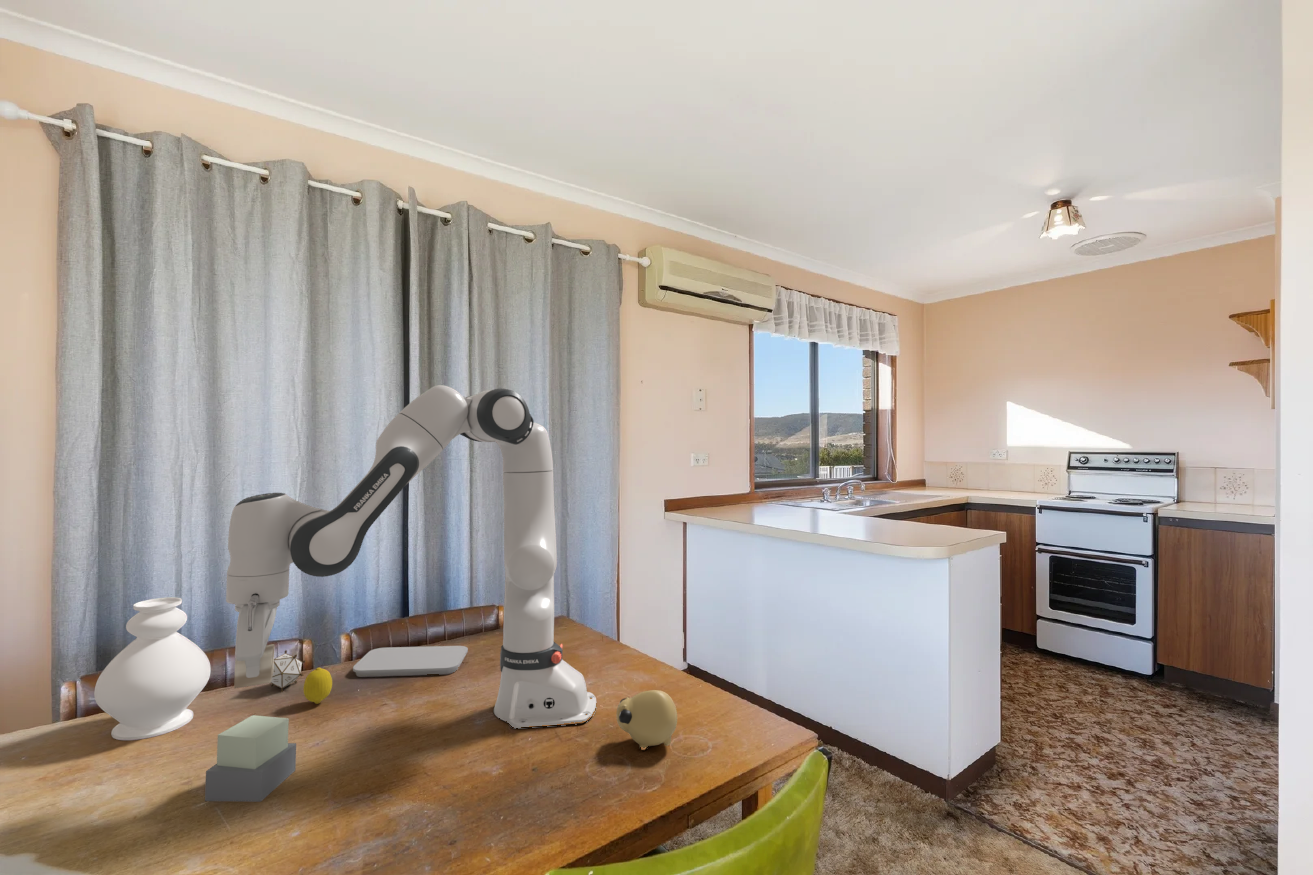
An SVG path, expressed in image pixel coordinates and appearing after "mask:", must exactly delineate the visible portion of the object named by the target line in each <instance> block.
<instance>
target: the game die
mask: <svg viewBox="0 0 1313 875" xmlns="http://www.w3.org/2000/svg"><path fill="white" fill-rule="evenodd" d="M297 657H298V654H294V655H291V654H289V653H288V650H287V649H285V650H284V653H283V654H281V655H278V656H277V657H274V671H273V676H272V680H271V683H270V684H271V685H270V687H271V688H272V687H274V686H275V687H278V688H280V692H281V693H283V692H284V688H286V687H288V686H289V685H291V684H293V683H294V684H298V680H297V679H299V677H303V676H304V673H302V666H303V663H306V661H307V660H305V659H303V660H300V659H298V658H297Z"/></svg>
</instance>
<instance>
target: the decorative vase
mask: <svg viewBox="0 0 1313 875" xmlns="http://www.w3.org/2000/svg"><path fill="white" fill-rule="evenodd" d="M182 602H183V599H182V598H181V597H177V596H176V597H175V596H174V597H173V596H172V597H170V596H169V597H159V598H158V597H157V598H150V599H147V600H142V601H138V602H135V603H134V604H133V606H132V607H133V608H132V609H133V610H134V611H136V612H137V613H136V614H134V615H133V616H132V617H130V618H129V620H128V621H127V622H126V624H125V629H126V631H127V632H128V633H129V634H130V635H132V636H134V637H136V638H135V639H134V640H132V641H131V642H130V643H129V644H128V645H126V646H125V647H124V648H123V649H122V650H121V651H120V652H118V653H117V655H116V656H114V658H112V659H111V661H110V662H109V663H108V664H107V665H106V667H105V668H104V669H103V670H102V672H101V673H100V675H98V676H99V677H98V678H97V681H96V684H95V687H94V694H93V695H94V696H93V697H94V700H95V702H96V705H97V706H98V707H99V708H100V709H101V710H102V711H104V713H106V714H107V715H109V716H110V717H112V718H113V719H115V720H116V721H117V722H119V723H118V724H117V725H115V726H114V727H113V728H112V729H111V738H113V739H114V740H115V739H116V740H119V741H137V740H145V739H149V738H154V737H158V736H161V735H165V734H167V733H170V732H173V731H175V730H176V731H177V729H180V728H182V727H184V726H185V725H187V724H188V723H190V722H191V721H192V720H193V718H194V711H193V710H192V709H189V708H188V706H190V704H191V703H192V702H193V701H194V700H195V699H196V698H197V697H198V695H199V694H200V693H201V692H202V690H203V689H204V688H205V686H206V685H207V684H208V681H209V679H210V677H211V670H212V669H211V663H210V660H209V657H208V656H207V654H206V653H205V652H204V651H203V649H201V648H200V647H199V645H197V644H196V643H195V642H193V641H192V640H190V639H188V637H186V636H184V635H183V634H181V633H179V632H178V631H179V630H180V629H181V628H182V627H183V626H184V625H185V624H186V623H187V620H188V615H187V613H186V612H185V611H183V610H182V609H180V608H178V607H177V606H180V605H182Z"/></svg>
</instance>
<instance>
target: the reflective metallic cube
mask: <svg viewBox="0 0 1313 875" xmlns="http://www.w3.org/2000/svg"><path fill="white" fill-rule="evenodd" d="M274 659H275V644H267V645H266V648H265V651H264V654H263V656H262V657H261V658H260V673H259V675H258V676H257V677H252V678H247V677H246V664H245V660H244V661H237V660H236V657H235V659H234V682H233V683H234V684H233V685H234V686H233V689H239V688H248V687H253V686H260V685H265V684H271V680H272V676H273V671H274Z"/></svg>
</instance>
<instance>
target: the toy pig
mask: <svg viewBox="0 0 1313 875" xmlns="http://www.w3.org/2000/svg"><path fill="white" fill-rule="evenodd" d="M616 723H617V725H618V726H619V728H620V729H621V730H622V731H624V732H626V733H628V735H629V736H630V738H631V739H632V740H633V741H634V742H635V743H637V744H638V745H639V748H640V747H643V748H645V747H648V746H649V747H653V746H654V747H655V746H658V745H661V744H663V745H664V746H670V745H671V743H672V735H673V734H674V733H675V730H676V728H677V725H678V713H677V706H676V704H675V702H674V700H673V698H672V697H671V696H670V695H669V694H668V693H667V692H665V691H663V690H660V689H659V690H658V689H657V690H656V689H651V690H645V691H641V692H639V693H637V694H635V695H633V696H632V697H628V696H626V697H624V698H622V699H621V700H620V701H619V704H618V705H617V709H616ZM649 747H648V748H649Z"/></svg>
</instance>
